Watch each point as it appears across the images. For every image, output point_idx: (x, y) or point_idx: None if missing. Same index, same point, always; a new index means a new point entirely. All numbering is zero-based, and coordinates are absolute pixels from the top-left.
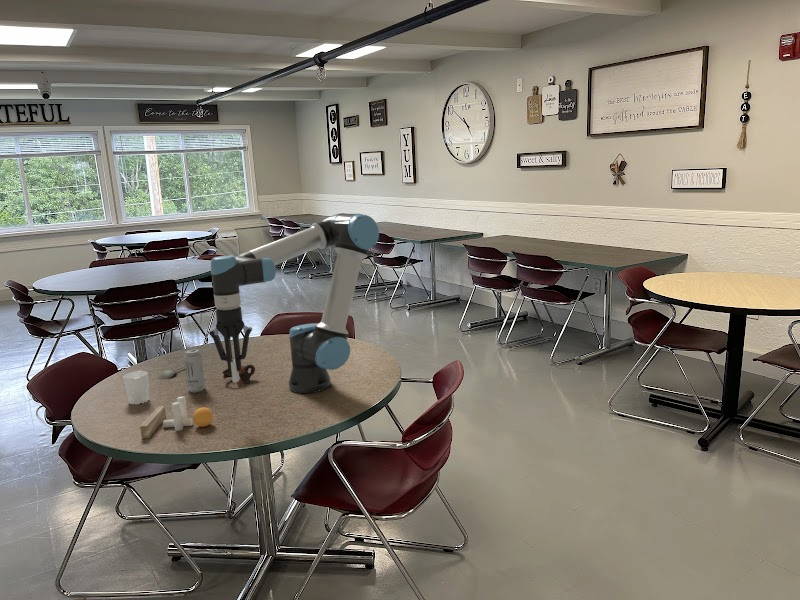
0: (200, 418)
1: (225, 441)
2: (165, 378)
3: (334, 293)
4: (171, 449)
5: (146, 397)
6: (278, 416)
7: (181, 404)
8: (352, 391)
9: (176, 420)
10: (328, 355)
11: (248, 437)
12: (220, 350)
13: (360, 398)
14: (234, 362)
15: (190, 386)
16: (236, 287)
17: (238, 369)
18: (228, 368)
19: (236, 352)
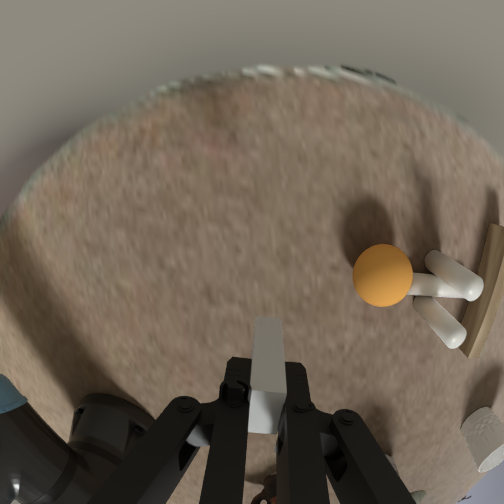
0: (391, 248)
1: (299, 128)
2: (416, 492)
3: None
4: (437, 127)
5: (470, 423)
6: (156, 277)
7: (449, 318)
8: (31, 365)
9: (451, 259)
10: None
11: (229, 139)
12: (370, 469)
13: (8, 322)
14: (258, 389)
15: (391, 463)
16: None
17: (240, 363)
18: (303, 374)
19: (227, 446)
